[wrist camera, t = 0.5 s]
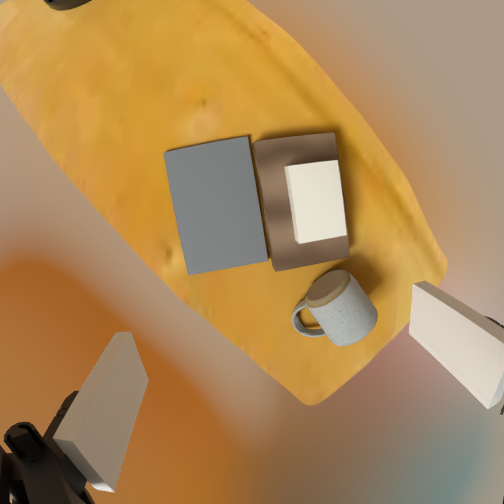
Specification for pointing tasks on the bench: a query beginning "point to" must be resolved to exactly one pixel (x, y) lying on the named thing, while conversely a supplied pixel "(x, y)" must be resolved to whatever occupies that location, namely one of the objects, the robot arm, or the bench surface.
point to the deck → (278, 203)
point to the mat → (216, 205)
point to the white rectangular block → (316, 201)
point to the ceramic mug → (337, 309)
